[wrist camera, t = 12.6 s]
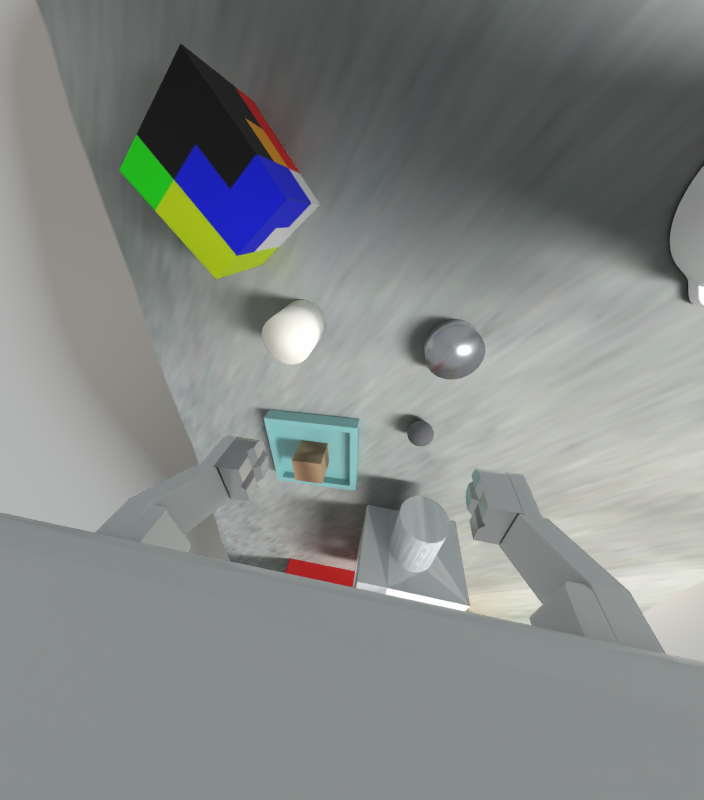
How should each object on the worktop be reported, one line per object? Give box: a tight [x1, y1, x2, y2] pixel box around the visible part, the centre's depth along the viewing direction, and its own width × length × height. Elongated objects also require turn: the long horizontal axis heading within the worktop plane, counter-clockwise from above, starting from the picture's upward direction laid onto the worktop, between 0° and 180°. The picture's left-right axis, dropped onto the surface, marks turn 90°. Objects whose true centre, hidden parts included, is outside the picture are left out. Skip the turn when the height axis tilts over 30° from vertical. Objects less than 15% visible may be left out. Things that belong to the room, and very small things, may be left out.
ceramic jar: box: [262, 300, 326, 364], centre depth 34 cm, size 6×6×7 cm
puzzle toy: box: [119, 44, 320, 279], centre depth 25 cm, size 10×10×10 cm
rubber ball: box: [407, 421, 434, 446], centre depth 42 cm, size 4×4×4 cm
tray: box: [264, 410, 359, 491], centre depth 49 cm, size 16×16×2 cm
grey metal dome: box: [424, 320, 485, 379], centre depth 34 cm, size 7×7×3 cm
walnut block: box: [292, 440, 329, 484], centre depth 47 cm, size 5×5×5 cm
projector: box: [353, 496, 470, 611], centre depth 55 cm, size 35×19×15 cm, turn 175°
